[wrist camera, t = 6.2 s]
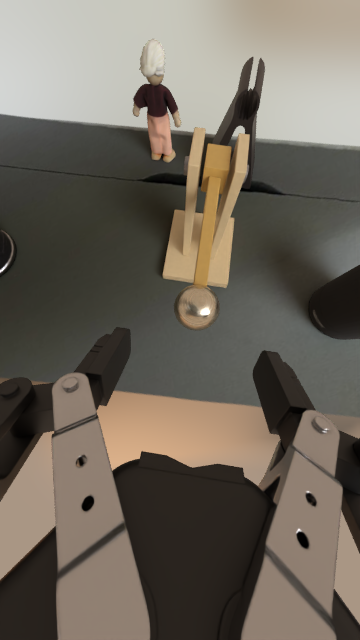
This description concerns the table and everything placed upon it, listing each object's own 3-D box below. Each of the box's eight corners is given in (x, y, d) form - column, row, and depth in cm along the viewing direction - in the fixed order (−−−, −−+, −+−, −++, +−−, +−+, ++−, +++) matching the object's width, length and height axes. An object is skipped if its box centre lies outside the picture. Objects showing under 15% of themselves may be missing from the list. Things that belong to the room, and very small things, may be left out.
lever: (212, 336, 16) (222, 329, 13) (171, 330, 16) (170, 321, 13) (230, 179, 20) (241, 139, 16) (196, 174, 20) (201, 134, 16)
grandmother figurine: (181, 148, 35) (183, 32, 23) (180, 164, 34) (182, 53, 22) (140, 146, 35) (121, 28, 23) (138, 161, 34) (117, 49, 22)
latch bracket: (225, 287, 29) (274, 215, 15) (163, 278, 29) (150, 197, 15) (232, 223, 32) (279, 107, 17) (174, 214, 32) (173, 93, 17)
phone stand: (200, 179, 34) (213, 82, 22) (206, 155, 35) (221, 50, 23) (249, 189, 33) (288, 96, 22) (253, 164, 35) (292, 63, 23)
